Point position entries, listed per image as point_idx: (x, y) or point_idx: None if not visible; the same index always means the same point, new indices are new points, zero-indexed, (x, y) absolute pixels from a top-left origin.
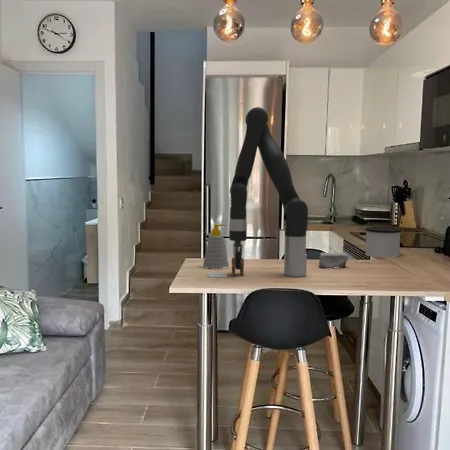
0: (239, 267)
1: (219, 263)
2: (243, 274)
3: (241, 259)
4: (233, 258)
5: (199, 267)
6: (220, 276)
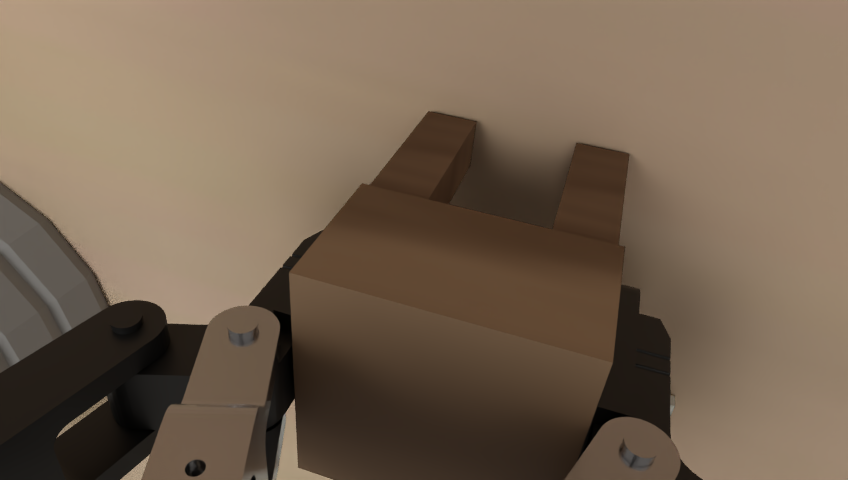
0: (665, 342)
1: (42, 336)
2: (625, 165)
3: (545, 394)
4: (373, 471)
5: (69, 423)
6: None
